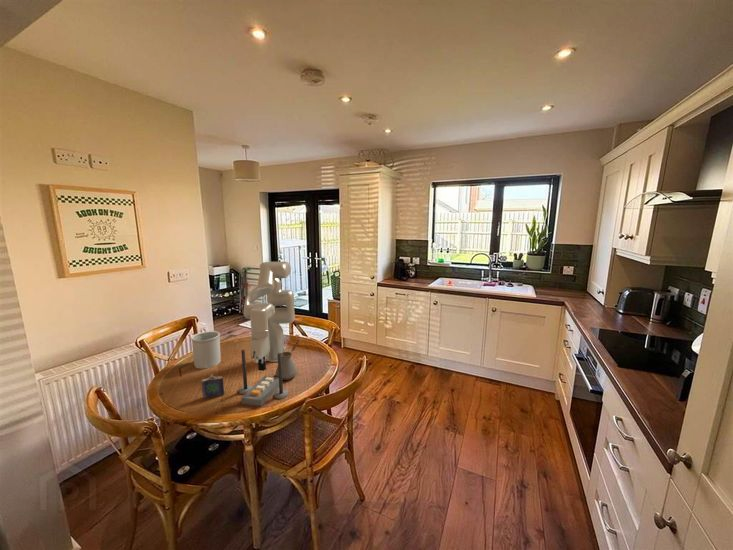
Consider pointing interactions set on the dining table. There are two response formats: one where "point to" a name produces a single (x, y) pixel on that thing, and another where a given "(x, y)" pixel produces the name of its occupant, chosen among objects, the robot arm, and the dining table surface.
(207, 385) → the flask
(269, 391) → the breaker strip
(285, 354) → the coffee pot
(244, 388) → the post
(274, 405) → the dining table surface
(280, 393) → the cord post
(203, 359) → the utensil holder
